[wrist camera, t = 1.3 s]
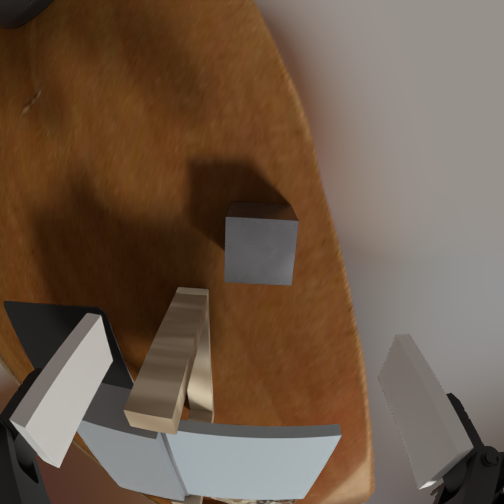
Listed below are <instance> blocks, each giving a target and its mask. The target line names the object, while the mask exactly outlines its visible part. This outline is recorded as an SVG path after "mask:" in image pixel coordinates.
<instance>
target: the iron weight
mask: <svg viewBox="0 0 504 504" xmlns="http://www.w3.org/2000/svg"><path fill="white" fill-rule="evenodd" d="M298 222H299V221H298V219H297V217H296V215H295V213H294V210H293V208H292V206H291V205H283V204H267V203H249V202H231V205H230V207H229V210H228V212H227V215H226V225H225V282H234V283H252V284H272V285H291V284H292V275H293V267H294V259H295V250H296V241H297V231H298Z"/></svg>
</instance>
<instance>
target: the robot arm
mask: <svg viewBox="0 0 504 504" xmlns="http://www.w3.org/2000/svg"><path fill="white" fill-rule="evenodd" d="M52 1H53V0H0V27H1V28H6V29H12V28H16V27H18V26H21V25H23V24H24V23H26V22H28V21H29V20H31V19H32V18H34V17H35V16H36V15H37V14H39V13H40V12H41V11H42V10H43V9H45V8H46V7H47V6H48V5H49V4H50V3H51V2H52ZM112 361H113V359H112V356H111V352H110V348H109V345H108V341H107V337H106V334H105V330H104V326H103V321H102V317H101V315H97V314H91V313H87V314H86V315H85V316H84V317H83V319H82V320H81V321H80V322H79V324H78V325H77V326H76V327H75V329H74V330H73V331H72V332H71V334H70V335H69V336H68V337H67V339H66V340H65V341H64V342H63V344H62V345H61V346H60V348H59V349H58V350H57V352H56V353H55V354H54V356H53V357H52V358H51V360H50V361H49V362H48V364H47V365H46V366H45V368H44V369H41V368H39V367H38V368H37V369H35V370H34V371H32V372H31V373H29V374H28V376H27V377H26V379H25V380H24V381H23V384H21V385H20V387H19V388H18V391H16V393H15V394H14V395H13V397H12V399H11V400H10V401H9V403H8V404H7V406H6V407H5V409H4V410H3V412H2V413H1V414H0V504H51V503H50V501H49V498H48V495H47V492H46V489H45V486H44V483H43V480H42V476H41V473H40V470H39V466H38V463H37V461H36V459H35V457H36V455H37V454H38V455H39V456H40V457H41V458H42V459H43V460H44V461H46V462H48V463H49V464H51V465H53V466H56V467H58V468H59V467H60V465H61V463H62V461H63V458H64V456H65V454H66V452H67V449H68V447H69V445H70V443H71V441H72V439H73V437H74V435H75V433H76V431H77V429H78V426H79V424H80V422H81V420H82V418H83V416H84V414H85V412H86V410H87V408H88V406H89V404H90V403H91V401H92V399H93V397H94V395H95V393H96V391H97V389H98V387H99V385H100V383H101V382H102V380H103V378H104V376H105V374H106V372H107V370H108V369H109V367H110V365H111V363H112ZM378 380H379V382H380V384H381V387H382V389H383V392H384V394H385V397H386V399H387V402H388V405H389V407H390V410H391V412H392V415H393V418H394V420H395V423H396V425H397V428H398V431H399V434H400V436H401V439H402V442H403V444H404V447H405V450H406V453H407V456H408V459H409V462H410V465H411V468H412V471H413V474H414V477H415V480H416V483H417V486H418V489H422V488H424V487H427V486H430V485H433V484H435V483H436V482H437V481H438V480H440V479H441V478H443V481H444V482H443V483H442V484H441V485H440V486H438V487H437V488H436V489H435V490H433V491H432V493H431V495H434V494H435V493H436V492H438V493H437V495H436V496H435V497H436V498H435V501H434V503H433V504H504V492H503V488H504V452H498V451H497V450H496V449H495V448H493V447H491V446H484V444H483V443H482V442H481V439H480V437H479V435H478V433H477V431H476V429H475V428H474V426H473V424H472V422H471V420H470V419H469V418H468V415H467V413H466V412H465V411H464V407H463V406H462V404H461V402H460V400H459V399H457V398H456V397H455V396H454V395H453V394H452V393H449V394H446V393H445V392H444V390H443V389H442V386H441V385H440V383H439V381H438V380H437V378H436V376H435V374H434V373H433V371H432V369H431V368H430V366H429V364H428V363H427V361H426V360H425V358H424V356H423V355H422V353H421V351H420V350H419V348H418V347H417V345H416V343H415V342H414V340H413V339H412V337H411V336H410V334H402V335H396V336H395V338H394V341H393V344H392V346H391V348H390V351H389V353H388V356H387V358H386V361H385V362H384V365H383V367H382V369H381V371H380V374H379V376H378Z"/></svg>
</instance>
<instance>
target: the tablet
mask: <svg viewBox="0 0 504 504" xmlns="http://www.w3.org/2000/svg"><path fill="white" fill-rule="evenodd" d="M4 307H5V310H6V312H7V314H8V317H9V319H10V321H11V323H12V326H13V328H14V330H15V332H16V334H17V336H18V338H19V341H20V343H21V345H22V347H23V348H24V350H25V352H26V354H27V356H28V358H29V360H30V362H31V364H32V365H33V367H34V369H37V368H38V367H39V368H41V369H44V368H45V366H46V365H47V364H48V362H49V361H50V360H51V358H52V357H53V356H54V354H55V353H56V352H57V350H58V349H59V348H60V346H61V345H62V344H63V342H64V341H65V340H66V339H67V337H68V336H69V335H70V334H71V332H72V331H73V330H74V329H75V327H76V326H77V325H78V324H79V322H80V321H81V320H82V319H83V317H84V316H85V315H86V314H87V313H91V314H97V315H101V317H102V321H103V326H104V330H105V334H106V337H107V341H108V345H109V348H110V352H111V356H112V359H113V361H112V363H111V365H110V367H109V369H108V370H107V372H106V374H105V376H104V378H103V380H102V382H101V383H104V384H109V385H113V386H117V387H122V388H127V389H132V388H133V385H134V382H133V380H132V378H131V375H130V373H129V371H128V368H127V366H126V364H125V361H124V359H123V356H122V354H121V351H120V349H119V346H118V344H117V341H116V338H115V336H114V333H113V330H112V328H111V325H110V322H109V319H108V316H107V314H106V313H105V312H104V311H103V310H102V309H101V308H98V307H83V306H65V305H49V304H36V303H23V302H12V301H5V302H4Z"/></svg>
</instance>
